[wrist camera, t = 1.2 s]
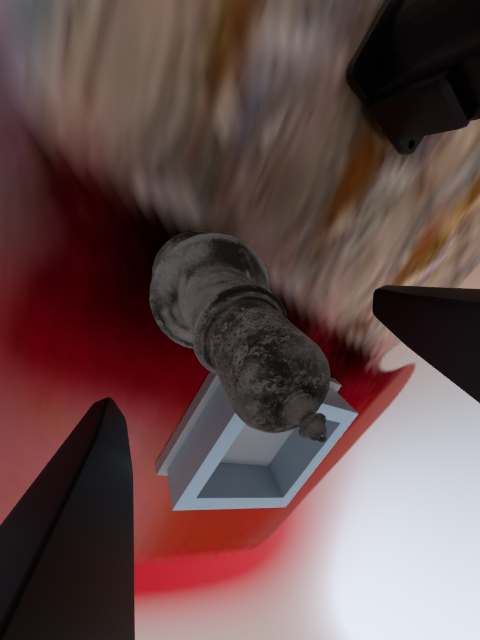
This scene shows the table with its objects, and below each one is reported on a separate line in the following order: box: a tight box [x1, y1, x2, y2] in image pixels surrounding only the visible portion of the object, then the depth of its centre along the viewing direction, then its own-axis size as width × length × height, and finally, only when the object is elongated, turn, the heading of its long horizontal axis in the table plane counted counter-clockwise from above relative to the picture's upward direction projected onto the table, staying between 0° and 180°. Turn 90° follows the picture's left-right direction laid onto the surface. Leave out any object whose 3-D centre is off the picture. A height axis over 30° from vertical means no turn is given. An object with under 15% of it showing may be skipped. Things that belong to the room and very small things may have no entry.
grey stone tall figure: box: [149, 230, 330, 443], centre depth 10 cm, size 6×6×12 cm
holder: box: [155, 371, 358, 511], centre depth 21 cm, size 12×12×4 cm
